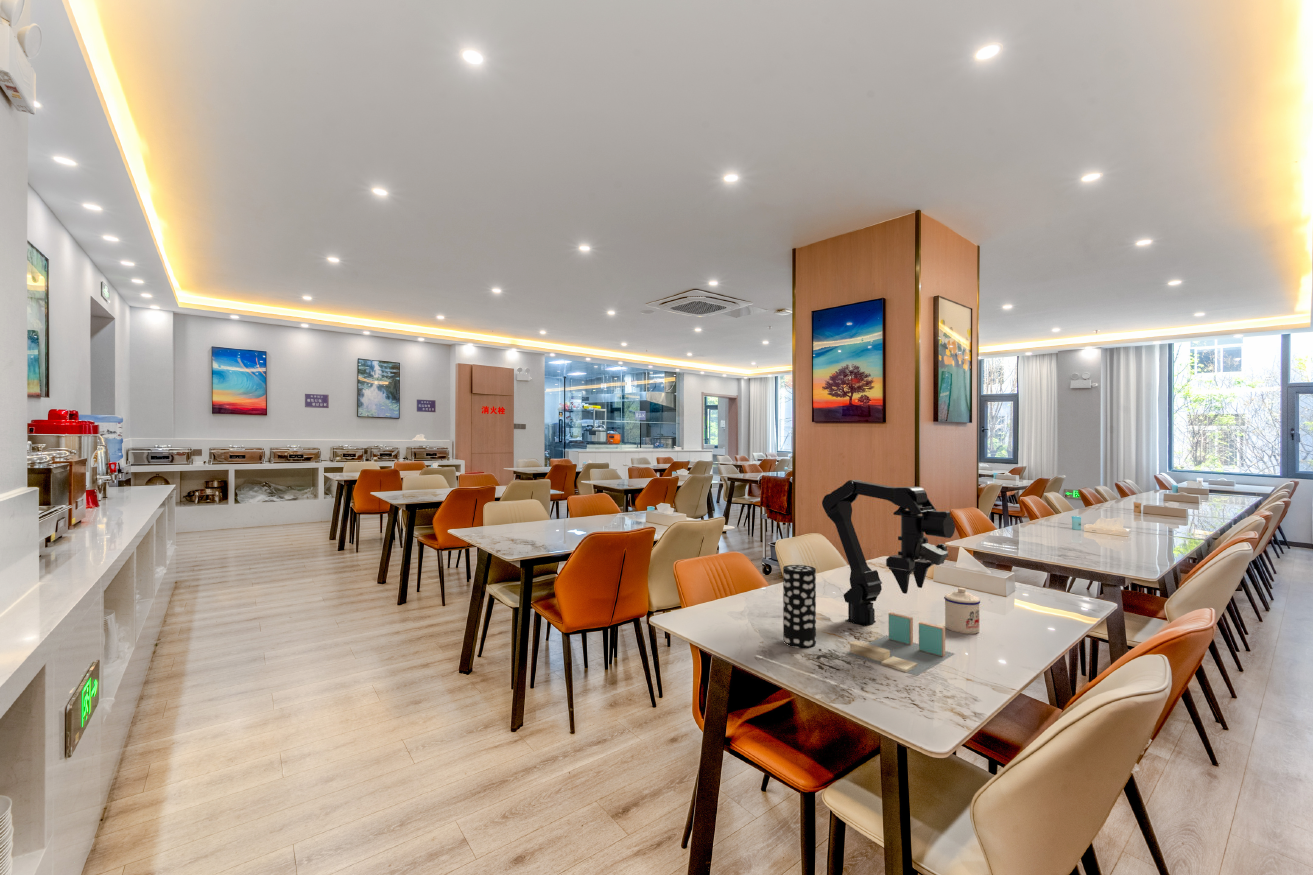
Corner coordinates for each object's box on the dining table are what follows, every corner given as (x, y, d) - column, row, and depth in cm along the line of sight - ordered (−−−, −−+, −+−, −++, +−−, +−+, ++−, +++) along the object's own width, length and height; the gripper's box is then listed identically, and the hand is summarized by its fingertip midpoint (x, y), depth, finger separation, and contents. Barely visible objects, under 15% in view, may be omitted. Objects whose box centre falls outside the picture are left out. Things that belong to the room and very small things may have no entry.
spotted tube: (818, 641, 151) (818, 566, 152) (813, 651, 144) (812, 572, 144) (787, 637, 155) (786, 563, 155) (780, 646, 147) (780, 569, 148)
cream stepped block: (847, 653, 141) (846, 644, 141) (858, 648, 145) (858, 639, 145) (906, 672, 130) (906, 661, 130) (917, 665, 134) (917, 655, 134)
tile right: (918, 650, 144) (917, 622, 144) (920, 649, 145) (920, 621, 145) (942, 657, 139) (942, 628, 139) (945, 655, 140) (945, 627, 140)
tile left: (887, 639, 152) (887, 613, 152) (890, 638, 153) (890, 612, 153) (910, 645, 147) (909, 618, 147) (912, 644, 148) (912, 617, 148)
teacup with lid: (972, 636, 155) (971, 594, 155) (938, 628, 162) (938, 587, 163) (990, 628, 163) (989, 587, 163) (957, 620, 170) (957, 581, 170)
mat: (844, 655, 142) (844, 653, 142) (886, 636, 155) (886, 635, 155) (916, 677, 128) (916, 675, 128) (955, 655, 142) (955, 653, 142)
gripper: (928, 540, 142) (928, 603, 142) (957, 533, 155) (957, 590, 154) (885, 535, 151) (885, 594, 150) (916, 528, 163) (916, 582, 163)
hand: (912, 590), depth 154 cm, fingers open, 9 cm apart
